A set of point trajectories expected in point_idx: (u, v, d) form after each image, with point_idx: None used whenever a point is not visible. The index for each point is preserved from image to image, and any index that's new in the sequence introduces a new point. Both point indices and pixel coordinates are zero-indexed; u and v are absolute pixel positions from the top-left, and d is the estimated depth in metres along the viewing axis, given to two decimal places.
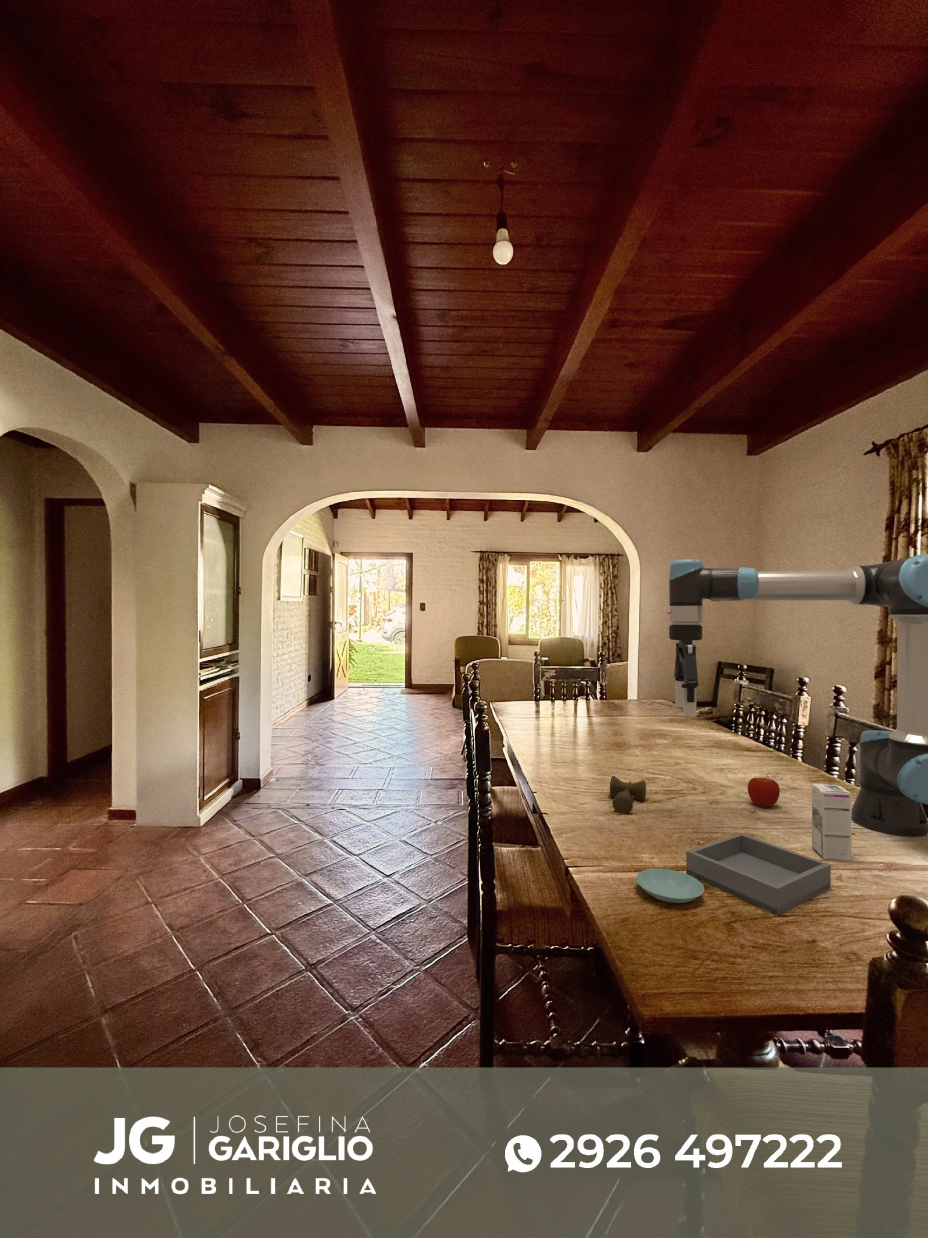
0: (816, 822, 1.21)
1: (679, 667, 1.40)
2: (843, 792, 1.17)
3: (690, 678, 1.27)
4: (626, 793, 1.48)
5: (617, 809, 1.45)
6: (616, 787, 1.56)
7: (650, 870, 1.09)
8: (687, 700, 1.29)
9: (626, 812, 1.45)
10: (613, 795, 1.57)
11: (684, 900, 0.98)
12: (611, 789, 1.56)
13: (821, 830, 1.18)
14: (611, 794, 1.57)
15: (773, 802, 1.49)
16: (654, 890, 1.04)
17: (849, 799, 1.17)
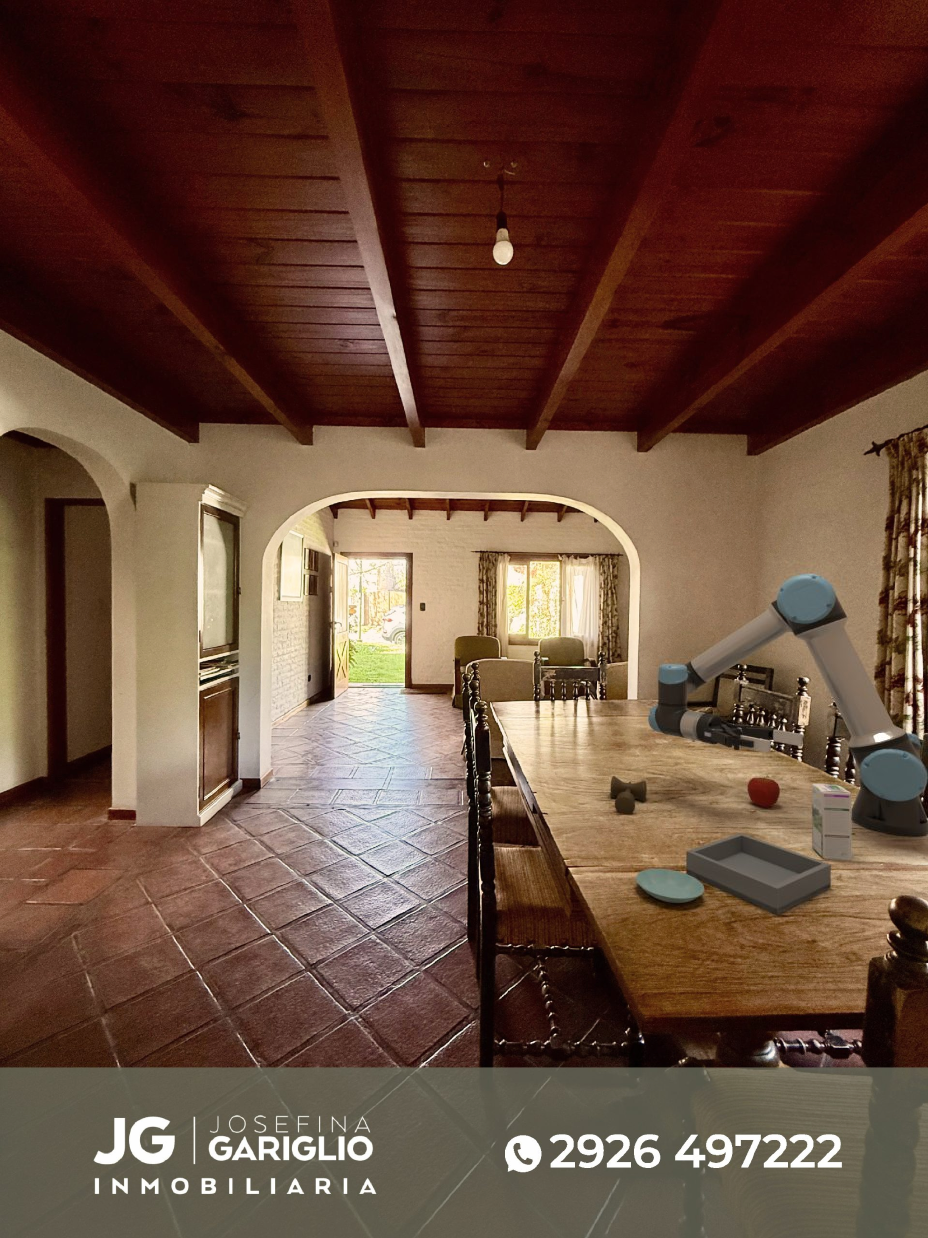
0: (816, 822, 1.21)
1: (753, 736, 1.40)
2: (843, 792, 1.17)
3: (724, 741, 1.31)
4: (628, 793, 1.48)
5: (619, 810, 1.45)
6: (617, 788, 1.56)
7: (650, 870, 1.09)
8: None
9: (628, 812, 1.44)
10: (614, 795, 1.56)
11: (684, 900, 0.98)
12: (612, 789, 1.56)
13: (821, 830, 1.18)
14: (612, 794, 1.56)
15: (773, 802, 1.49)
16: (654, 890, 1.04)
17: (849, 799, 1.17)
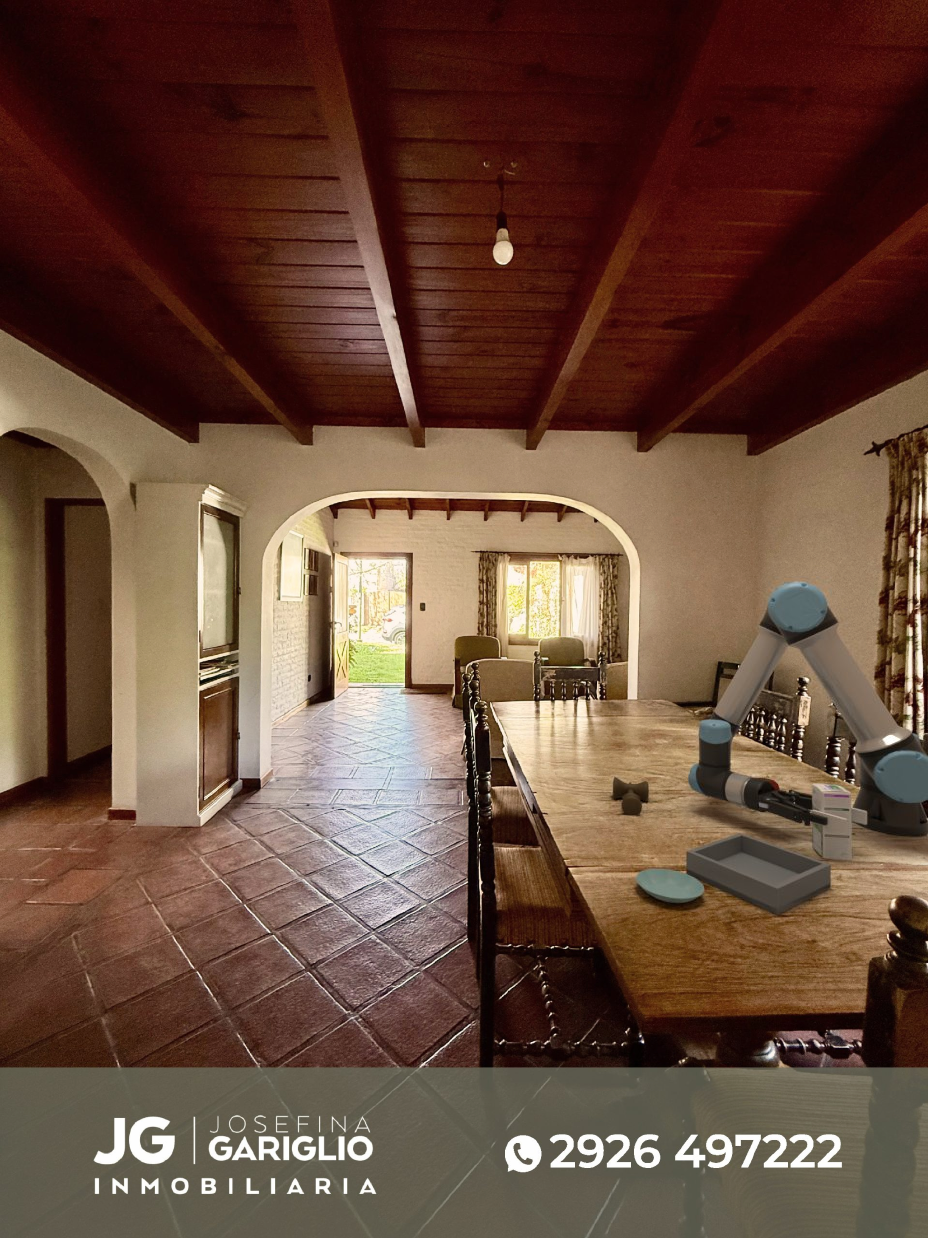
0: None
1: (807, 807, 1.27)
2: (843, 792, 1.17)
3: (792, 816, 1.20)
4: (633, 794, 1.47)
5: (626, 811, 1.44)
6: (619, 789, 1.55)
7: (650, 870, 1.09)
8: None
9: (635, 814, 1.44)
10: (616, 797, 1.56)
11: (684, 900, 0.98)
12: (615, 791, 1.55)
13: (821, 830, 1.18)
14: (615, 796, 1.55)
15: None
16: (654, 890, 1.04)
17: (849, 799, 1.17)
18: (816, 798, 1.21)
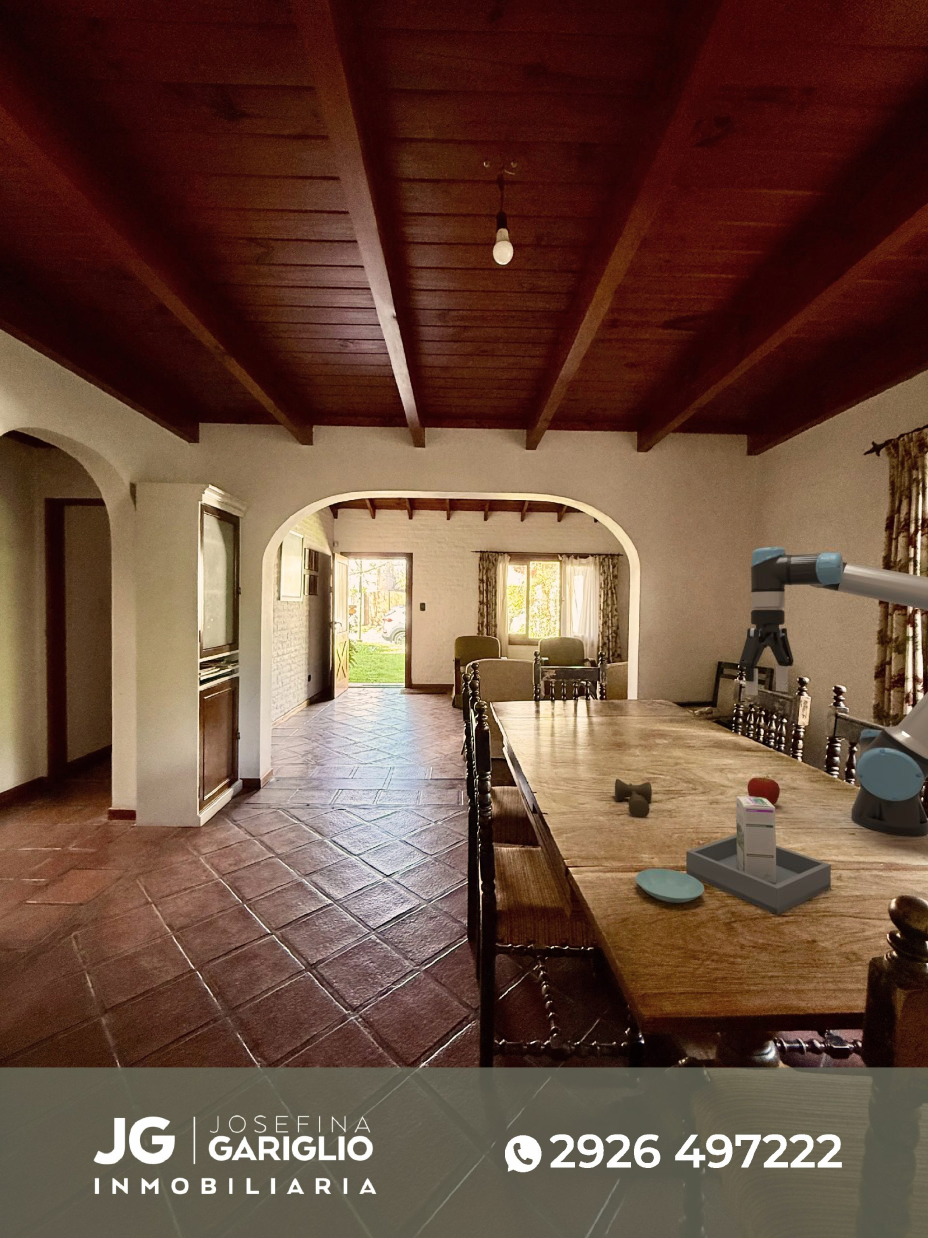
0: (739, 839, 1.09)
1: (773, 651, 1.45)
2: (767, 806, 1.05)
3: (744, 658, 1.37)
4: (639, 796, 1.46)
5: (634, 813, 1.42)
6: (623, 790, 1.54)
7: (649, 870, 1.09)
8: None
9: (643, 816, 1.42)
10: (620, 798, 1.54)
11: (685, 900, 0.98)
12: (618, 792, 1.53)
13: (743, 848, 1.06)
14: (618, 798, 1.53)
15: (773, 802, 1.49)
16: (654, 890, 1.04)
17: (773, 814, 1.05)
18: (739, 813, 1.09)
